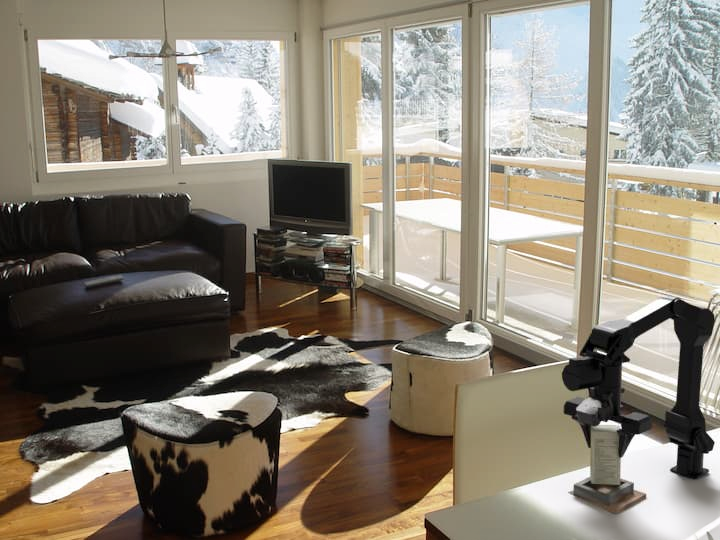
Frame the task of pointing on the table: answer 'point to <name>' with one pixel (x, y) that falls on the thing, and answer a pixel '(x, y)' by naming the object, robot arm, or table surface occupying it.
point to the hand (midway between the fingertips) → (605, 452)
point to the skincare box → (605, 455)
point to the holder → (608, 494)
